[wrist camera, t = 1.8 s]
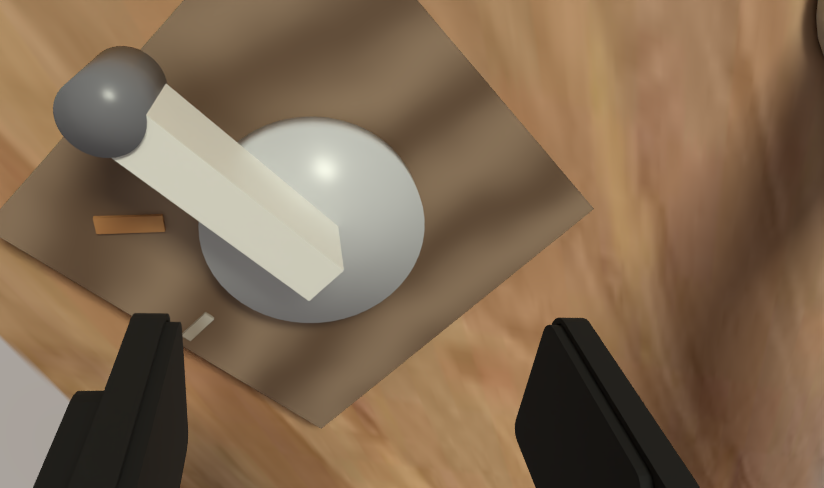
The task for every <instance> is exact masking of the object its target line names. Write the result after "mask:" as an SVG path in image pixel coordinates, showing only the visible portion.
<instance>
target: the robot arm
mask: <svg viewBox="0 0 824 488" xmlns="http://www.w3.org/2000/svg"><path fill="white" fill-rule="evenodd" d="M816 21H817V33H818V40H819V43H820V46H821V49H822V52H823V55H824V0H818V4H817V14H816ZM515 435H516V439H517V442H518V444H519V447H520V449H521V452H522V454H523V457H524V459H525V462H526V464H527V467H528V469H529V472H530V474H531V477H532V479H533V482H534V484H535V487H536V488H699V485H698V484H697V482H696V481H695V479H694V478H693V476H692V475H691V473H690V472H689V470H688V469H687V467H686V466H685V464H684V463H683V461H682V460H681V458H680V457H679V455H678V454H677V452H676V451H675V449H674V448H673V446H672V445H671V443H670V442H669V440H668V439H667V437H666V436H665V434H664V433H663V432H662V430H661V429H660V427H659V426H658V424H657V423H656V421H655V420H654V418H653V417H652V415H651V414H650V412H649V411H648V409H647V408H646V406H645V405H644V403H643V402H642V400H641V399H640V397H639V396H638V394H637V393H636V391H635V390H634V388H633V387H632V385H631V384H630V382H629V381H628V379H627V378H626V376H625V375H624V373H623V372H622V370H621V369H620V367H619V366H618V364H617V363H616V361H615V360H614V358H613V357H612V355H611V354H610V352H609V351H608V349H607V348H606V346H605V345H604V343H603V342H602V340H601V339H600V337H599V336H598V334H597V333H596V332H595V330H594V329H593V327H592V326H591V324H590V323H589V321H588V320H587V319H584V318H556V319H555V320H554V321H553V323H552V325H547V326H546V327H545V329H544V331H543V334H542V338H541V341H540V344H539V347H538V350H537V354H536V357H535V360H534V363H533V367H532V370H531V373H530V376H529V379H528V383H527V386H526V389H525V392H524V395H523V399H522V402H521V405H520V408H519V412H518V415H517V418H516V422H515ZM187 443H188V421H187V404H186V387H185V370H184V353H183V336H182V324H181V322H170V316H169V314H168V313H134V314H133V315H132V317H131V320H130V322H129V325H128V328H127V331H126V333H125V336H124V339H123V341H122V344H121V347H120V349H119V352H118V355H117V358H116V360H115V363H114V366H113V368H112V371H111V374H110V376H109V379H108V382H107V385H106V387H105V390H104V391H77V392H76V393H75V394H74V395H73V397H72V399H71V401H70V402H69V405H68V407H67V410H66V412H65V414H64V417H63V419H62V422H61V424H60V426H59V428H58V431H57V433H56V436H55V438H54V440H53V442H52V445H51V447H50V449H49V452H48V454H47V457H46V459H45V461H44V463H43V466H42V468H41V470H40V473H39V475H38V477H37V480H36V482H35V484H34V487H33V488H180V484H181V478H182V473H183V468H184V462H185V457H186V451H187Z"/></svg>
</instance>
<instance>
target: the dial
mask: <svg viewBox="0 0 824 488" xmlns="http://www.w3.org/2000/svg"><path fill="white" fill-rule="evenodd" d="M53 114H54V119H55V122H56V125H57V127H58V129H59V131H60V132H61V134H62V135H63V136H64V138H65V139H66V140H67V141H68V142H69V143H70V144H72V145H73V146H74V147H75V148H77V149H79V150H80V151H82V152H84V153H86V154H89V155H92V156H95V157H101V158H112V159H113V160H115V161H116V162H118V163H119V164H120V165H122V166H123V167H125V168H126V169H127V170H129V171H130V172H131V173H133V174H134V175H136V176H137V177H138V178H140V179H141V180H142V181H144V182H145V183H147V184H148V185H149V186H151V187H152V188H154V189H155V190H156V191H158V192H159V193H160V194H162V195H163V196H165V197H166V198H167V199H169V200H170V201H171V202H173V203H174V204H176V205H177V206H178V207H180V208H181V209H183V210H184V211H185V212H187V213H188V214H189V215H191V216H192V217H194V218H195V219H196V220H198V221H199V225H198V227H199V240H200V244H201V249H202V252H203V255H204V258H205V260H206V263H207V265H208V267H209V268H210V270H211V272H212V274H213V275H214V276H215V278H216V279H217V280H218V282H219V283H220V284H221V286H222V287H224V288H225V289H226V290H227V291H228V292H229V293H230V294H231V295H232V296H233V297H234V298H236V299H237V300H238V301H240V302H241V303H243V304H244V305H246V306H248V307H249V308H251V309H253V310H255V311H257V312H259V313H262V314H264V315H267V316H270V317H273V318H276V319H280V320H285V321H290V322H299V323H322V322H331V321H336V320H340V319H345V318H348V317H351V316H354V315H357V314H359V313H361V312H364V311H366V310H368V309H370V308H372V307H373V306H375V305H377V304H379V303H380V302H382V301H383V300H384V299H386V298H387V297H388V296H390V295H391V294H392V293H393V292H394V291H395V290H396V289H397V288H398V287H399V286H400V285H401V284H402V283H403V281H404V280H405V279H406V278H407V276H408V275H409V273H410V272H411V270H412V268H413V267H414V265H415V263H416V261H417V258H418V256H419V254H420V250H421V247H422V243H423V237H424V212H423V206H422V202H421V199H420V196H419V193H418V190H417V188H416V185H415V183H414V180H413V178H412V176H411V174H410V172H409V170H408V168H407V166H406V165H405V163H404V162H403V160H402V159H401V158H400V156H399V155H398V154H397V153H396V152H395V151H394V150H393V149H392V147H390V146H389V145H388V144H387V143H386V142H384V141H383V140H382V139H381V138H379V137H378V136H376V135H375V134H373V133H371V132H370V131H368V130H366V129H364V128H362V127H360V126H357V125H355V124H352V123H349V122H346V121H343V120H338V119H333V118H327V117H313V116H310V117H295V118H290V119H285V120H280V121H277V122H274V123H271V124H268V125H265V126H263V127H261V128H259V129H257V130H255V131H253V132H251V133H250V134H248V135H247V136H245V137H244V138H242V139H241V140H239V141H238V142H236V141H235V140H234V139H232V138H231V137H230V136H229V135H228V134H226V133H225V132H224V131H223V130H222V129H220V128H219V127H218V126H217V125H216V124H214V123H213V122H212V121H211V120H210V119H208V118H207V117H206V116H205V115H203V114H202V113H201V112H200V111H199V110H197V109H196V108H195V107H194V106H193V105H191V104H190V103H189V102H188V101H187V100H185V99H184V98H183V97H182V96H181V95H179V94H178V93H177V92H176V91H175V90H173V89H172V88H171V87H170V86H169V85H167V80H166V77H165V74H164V72H163V70H162V69H161V67H160V66H159V64H158V63H157V62H156V61H155V60H154V59H153V58H152V57H150V56H149V55H148V54H146V53H145V52H143V51H141V50H138V49H136V48H132V47H127V46H116V47H111V48H108V49H106V50H104V51H102V52H101V53H100V54H99V55H97V56H96V57H95V58H94V59H93V60H92V61H91V62H90V63H88V64H87V65H86V66H85V67H84V68H83V69H82V70H81V71H79V72H78V73H77V74H76V75H75V76H74V77H73V78H72V79H71V80H69V81H68V82H67V83H66V84H65V85H64V86H63V87H62V88H61V89H60V90H59V92H58V93H57V95H56V97H55V100H54V105H53Z"/></svg>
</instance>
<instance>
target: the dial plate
mask: <svg viewBox="0 0 824 488" xmlns="http://www.w3.org/2000/svg"><path fill="white" fill-rule="evenodd" d="M141 51H143V52H145V53H146V54H148V55H149V56H150V57H152V58H153V59H154V60H155V61H156V62H157V63H158V64H159V66H160V67H161V69H162V70H163V72H164V74H165V77H166V80H167V85H169V86H170V87H171V88H172V89H173V90H175V91H176V92H177V93H178V94H179V95H181V96H182V97H183V98H184V99H185V100H187V101H188V102H189V103H190V104H191V105H193V106H194V107H195V108H196V109H197V110H199V111H200V112H201V113H202V114H203V115H205V116H206V117H207V118H208V119H210V120H211V121H212V122H213V123H214V124H216V125H217V126H218V127H219V128H220V129H222V130H223V131H224V132H225V133H226V134H228V135H229V136H230V137H231V138H232V139H234V140H235V141H236V142H238V141H239V140H241V139H242V138H244V137H245V136H247V135H248V134H250V133H251V132H253V131H255V130H257V129H259V128H261V127H263V126H265V125H268V124H271V123H274V122H277V121H280V120H285V119H290V118H295V117H310V116H313V117H327V118H333V119H338V120H343V121H346V122H349V123H352V124H355V125H357V126H360V127H362V128H364V129H366V130H368V131H370V132H371V133H373V134H375V135H376V136H378V137H379V138H381V139H382V140H383V141H384V142H386V143H387V144H388V145H389V146H390V147H392V149H393V150H394V151H395V152H396V153H397V154H398V155H399V156H400V158H401V159H402V160H403V162H404V163H405V165H406V166H407V168H408V170H409V172H410V174H411V176H412V178H413V180H414V183H415V185H416V188H417V190H418V193H419V196H420V199H421V202H422V206H423V212H424V237H423V243H422V247H421V250H420V254H419V256H418V258H417V261H416V263H415V265H414V267H413V268H412V270H411V272H410V273H409V275H408V276H407V278H406V279H405V280H404V281H403V283H402V284H401V285H400V286H399V287H398V288H397V289H396V290H395V291H394V292H393V293H392V294H391V295H390V296H388V297H387V298H386V299H384V300H383V301H382V302H380V303H379V304H377V305H375V306H373V307H372V308H370V309H368V310H366V311H364V312H361V313H359V314H357V315H354V316H351V317H348V318H345V319H340V320H336V321H331V322H322V323H299V322H290V321H285V320H280V319H276V318H273V317H270V316H267V315H264V314H262V313H259V312H257V311H255V310H253V309H251V308H249V307H248V306H246V305H244V304H243V303H241V302H240V301H238V300H237V299H236V298H234V297H233V296H232V295H231V294H230V293H229V292H228V291H227V290H226V289H225V288H224V287H222V286H221V284H220V283H219V282H218V280H217V279H216V278H215V276H214V275H213V274H212V272H211V270H210V268H209V267H208V265H207V263H206V260H205V258H204V255H203V252H202V249H201V244H200V240H199V227H198V225H199V221H198V220H196V219H195V218H194V217H192V216H191V215H189V214H188V213H187V212H185V211H184V210H183V209H181V208H180V207H178V206H177V205H176V204H174V203H173V202H171V201H170V200H169V199H167V198H166V197H165V196H163V195H162V194H160V193H159V192H158V191H156V190H155V189H154V188H152V187H151V186H149V185H148V184H147V183H145V182H144V181H142V180H141V179H140V178H138V177H137V176H136V175H134V174H133V173H131V172H130V171H129V170H127V169H126V168H125V167H123V166H122V165H120V164H119V163H118V162H116V161H115V160H113V159H112V158H101V157H95V156H92V155H89V154H86V153H84V152H82V151H80V150H79V149H77V148H75V147H74V146H73V145H72V144H70V143H69V142H68V141H67V140H66V139H65V138H64V137H63V138H62V139H61V141H60V142H59V143H58V144H57V145H56V146H55V147H54V149H53V150H52V151H51V152H50V153H49V154H48V155H47V157H46V158H45V159H44V160H43V161H42V162H41V163H40V164H39V166H38V167H37V168H36V169H35V170H34V171H33V172H32V174H31V175H30V176H29V177H28V178H27V179H26V180H25V182H24V183H23V184H22V185H21V186H20V187H19V188H18V189H17V191H16V192H15V193H14V194H13V195H12V196H11V197H10V199H9V200H8V201H7V202H6V203H5V204H4V205H3V207H2V208H1V209H0V238H2V239H4V240H5V241H7V242H9V243H10V244H12V245H14V246H15V247H17V248H19V249H20V250H22V251H24V252H26V253H27V254H29V255H31V256H32V257H34V258H36V259H37V260H39V261H41V262H42V263H44V264H46V265H47V266H49V267H51V268H52V269H54V270H56V271H57V272H59V273H61V274H62V275H64V276H66V277H67V278H69V279H71V280H72V281H74V282H76V283H78V284H79V285H81V286H83V287H84V288H86V289H88V290H89V291H91V292H93V293H94V294H96V295H98V296H99V297H101V298H103V299H104V300H106V301H108V302H109V303H111V304H113V305H114V306H116V307H118V308H119V309H121V310H123V311H125V312H126V313H128V314H130V315H131V316H132V315H133V314H134V313H168V314H169V316H170V322H181V324H182V336H183V347H185V348H187V349H188V350H190V351H192V352H193V353H195V354H197V355H198V356H200V357H202V358H203V359H205V360H207V361H208V362H210V363H212V364H213V365H215V366H217V367H218V368H220V369H222V370H224V371H225V372H227V373H229V374H230V375H232V376H234V377H235V378H237V379H239V380H240V381H242V382H244V383H245V384H247V385H249V386H250V387H252V388H254V389H255V390H257V391H259V392H260V393H262V394H264V395H265V396H267V397H269V398H270V399H272V400H274V401H276V402H277V403H279V404H281V405H282V406H284V407H286V408H287V409H289V410H291V411H292V412H294V413H296V414H297V415H299V416H301V417H302V418H304V419H306V420H307V421H309V422H311V423H312V424H314V425H316V426H317V427H319V428H323V427H324V426H325V425H326V424H328V423H329V422H330V421H331V420H333V419H334V418H335V417H336V416H338V415H339V414H340V413H341V412H343V411H344V410H345V409H346V408H348V407H349V406H350V405H351V404H352V403H354V402H355V401H356V400H357V399H359V398H360V397H361V396H362V395H364V394H365V393H366V392H367V391H369V390H370V389H371V388H372V387H374V386H375V385H376V384H377V383H379V382H380V381H381V380H382V379H383V378H385V377H386V376H387V375H388V374H390V373H391V372H392V371H393V370H395V369H396V368H397V367H398V366H400V365H401V364H402V363H403V362H405V361H406V360H407V359H408V358H410V357H411V356H412V355H413V354H414V353H416V352H417V351H418V350H419V349H421V348H422V347H423V346H424V345H426V344H427V343H428V342H429V341H431V340H432V339H433V338H434V337H436V336H437V335H438V334H439V333H441V332H442V331H443V330H444V329H445V328H447V327H448V326H449V325H450V324H452V323H453V322H454V321H455V320H457V319H458V318H459V317H460V316H462V315H463V314H464V313H465V312H467V311H468V310H469V309H470V308H472V307H473V306H474V305H475V304H476V303H478V302H479V301H480V300H481V299H483V298H484V297H485V296H486V295H488V294H489V293H490V292H491V291H493V290H494V289H495V288H496V287H498V286H499V285H500V284H501V283H503V282H504V281H505V280H506V279H507V278H509V277H510V276H511V275H512V274H514V273H515V272H516V271H517V270H519V269H520V268H521V267H522V266H524V265H525V264H526V263H527V262H529V261H530V260H531V259H532V258H534V257H535V256H536V255H537V254H538V253H540V252H541V251H542V250H543V249H545V248H546V247H547V246H548V245H550V244H551V243H552V242H553V241H555V240H556V239H557V238H558V237H560V236H561V235H562V234H563V233H565V232H566V231H567V230H568V229H569V228H571V227H572V226H573V225H574V224H576V223H577V222H578V221H579V220H581V219H582V218H583V217H584V216H586V215H587V214H588V213H589V212H591V211H592V210H593V209H594V208H593V207H592V206H591V205H590V204H589V202H588V201H587V200H586V199H585V198H584V197H583V195H582V194H581V193H580V192H579V191H578V189H577V188H576V187H575V186H574V185H573V184H572V182H571V181H570V180H569V179H568V178H567V176H566V175H565V174H564V173H563V172H562V171H561V169H560V168H559V167H558V166H557V165H556V164H555V162H554V161H553V160H552V159H551V158H550V156H549V155H548V154H547V153H546V152H545V151H544V149H543V148H542V147H541V146H540V145H539V143H538V142H537V141H536V140H535V139H534V138H533V136H532V135H531V134H530V133H529V132H528V130H527V129H526V128H525V127H524V126H523V125H522V123H521V122H520V121H519V120H518V119H517V117H516V116H515V115H514V114H513V113H512V112H511V110H510V109H509V108H508V107H507V106H506V104H505V103H504V102H503V101H502V100H501V99H500V97H499V96H498V95H497V94H496V93H495V91H494V90H493V89H492V88H491V87H490V86H489V84H488V83H487V82H486V81H485V80H484V78H483V77H482V76H481V75H480V74H479V73H478V71H477V70H476V69H475V68H474V67H473V65H472V64H471V63H470V62H469V61H468V60H467V58H466V57H465V56H464V55H463V54H462V52H461V51H460V50H459V49H458V48H457V47H456V45H455V44H454V43H453V42H452V41H451V39H450V38H449V37H448V36H447V35H446V34H445V32H444V31H443V30H442V29H441V28H440V27H439V25H438V24H437V23H436V22H435V21H434V19H433V18H432V17H431V16H430V15H429V14H428V12H427V11H426V10H425V9H424V8H423V6H422V5H421V4H420V3H419V2H418V1H417V0H184V1H183V2H182V3H181V4H180V5H179V6H178V8H177V9H176V10H175V11H174V12H173V13H172V14H171V16H170V17H169V18H168V19H167V20H166V21H165V22H164V24H163V25H162V26H161V27H160V28H159V29H158V30H157V31H156V33H155V34H154V35H153V36H152V37H151V38H150V39H149V41H148V42H147V43H146V44H145V45H144V46H143V47H142V49H141Z"/></svg>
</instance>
